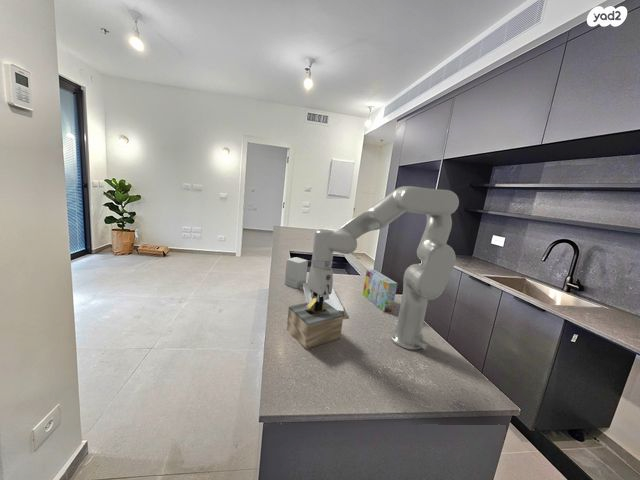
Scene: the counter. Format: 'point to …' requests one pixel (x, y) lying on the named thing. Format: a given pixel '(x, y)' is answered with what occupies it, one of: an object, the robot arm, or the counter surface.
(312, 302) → the block
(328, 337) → the box
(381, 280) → the snack box
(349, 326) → the counter surface
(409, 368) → the counter surface
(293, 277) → the supplement box
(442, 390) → the counter surface
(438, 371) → the counter surface
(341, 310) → the tray
